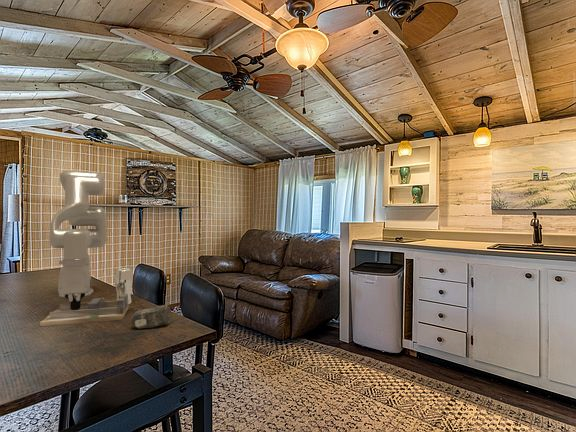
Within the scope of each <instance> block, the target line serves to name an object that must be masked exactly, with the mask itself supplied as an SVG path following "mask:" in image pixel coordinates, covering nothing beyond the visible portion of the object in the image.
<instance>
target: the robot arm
mask: <svg viewBox="0 0 576 432" xmlns="http://www.w3.org/2000/svg"><path fill="white" fill-rule="evenodd" d="M59 181H60V184H61V186H62V188H63V190H64V207H63V208H61V209H60V210H58V212H57V213H56V214H55V215H54V216H53V218H52V220H51V222H50V228H49V244H50V246H51V247H52V248H53V249H59V250H60V249H63V258H62V260H59V262H58V264H59V265H62V267H60V270H59V276H58V284H57V292H58V296H59V297H62V298H66V299H67V301H68V302H69V304H70V309H72V310H79V309H80V307H81V303H82V302H81V301H82V300H81V299H83V298H84V297H86V296H91V294H92V293H94V288H92V276H91V260H90V259H91V258H90V255H89V253H88V249H92V248H93V249H95V248H97V249H98V248H103V247H104V246H105V245H106V243H107V213H106V210H105V208H104V207H102V206H90V205H89V200H90V199H89V196H102V195H103V194H104V192H105V186H106V185H105V178H104V175H103V174H102V173H101V172H99V171H84V170H65V171H61V173H60V174H59ZM66 221H68V224H69V225H70V226H72V227H95V228H71V229H70V228H69V229H68V228H64V229H60V225H61V224H63V223H64V222H66Z"/></svg>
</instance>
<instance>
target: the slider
mask: <svg viewBox="0 0 576 432" xmlns="http://www.w3.org/2000/svg"><path fill="white" fill-rule="evenodd" d="M105 301H106V298H105V297H94V298H92V300H90V301H89V303H88V302H87V303H88V309H99V308H105Z"/></svg>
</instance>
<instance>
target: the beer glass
mask: <svg viewBox="0 0 576 432" xmlns="http://www.w3.org/2000/svg"><path fill="white" fill-rule="evenodd" d="M133 276H134V274H133V268H131V267H124V268H117V269H115V275H114V284H115V285H114V286H115V291H116V301H118V299H119V298H120V297H121V295H122V294H128V304H129V305H130V304H132V297H131V294H132V293H131V292H132V287H133V279H134V278H133Z"/></svg>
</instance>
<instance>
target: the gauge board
mask: <svg viewBox="0 0 576 432" xmlns="http://www.w3.org/2000/svg"><path fill="white" fill-rule="evenodd" d="M89 302H90V301H89ZM89 302H81V307H80V309H79V310H72V309H70V303H61V304H59V308H56V309H55V310H53V311H50V312H49V315H47V316H46V317H45V318H43V320H41V321H40V322H39V324H40V325H39V327H48V326H49V327H51V326H61V325H62V326H63V325H75V324H76V325H77V324H87V323H98V322H99V323H100V322H107V321H108V322H110V321H120V320H121V321H122V320H123V318H124V317H125V315H126V313H127V311H128V310H129V308H130V306H129V305H130V304H128V294H122V295H121V297H120V298H119V299H118V301H117V300H105V308H99V309H88V303H89Z"/></svg>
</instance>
